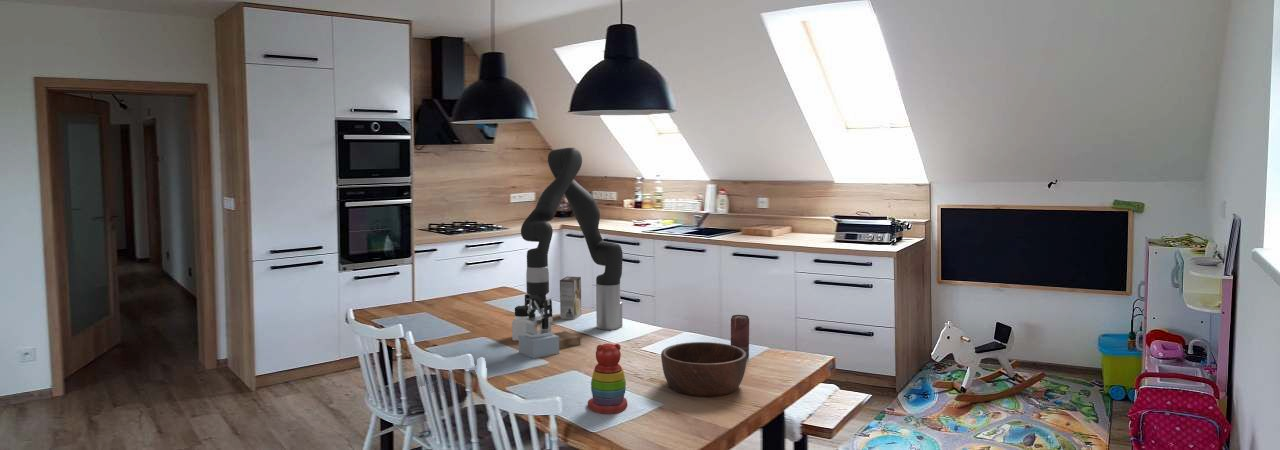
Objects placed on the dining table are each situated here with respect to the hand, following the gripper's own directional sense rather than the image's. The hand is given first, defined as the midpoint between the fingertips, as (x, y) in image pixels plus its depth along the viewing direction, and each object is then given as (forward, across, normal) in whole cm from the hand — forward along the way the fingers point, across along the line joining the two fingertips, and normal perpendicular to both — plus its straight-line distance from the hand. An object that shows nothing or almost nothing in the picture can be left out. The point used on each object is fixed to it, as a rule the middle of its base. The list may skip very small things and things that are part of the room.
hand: (538, 326), depth 266 cm
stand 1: (+9, 0, 0) cm, 9 cm away
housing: (+3, 0, 0) cm, 3 cm away
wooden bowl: (+10, -62, -19) cm, 66 cm away
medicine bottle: (+9, +21, -6) cm, 24 cm away
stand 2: (+9, +5, -12) cm, 16 cm away
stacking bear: (+9, -60, +14) cm, 62 cm away
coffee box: (+9, +40, -39) cm, 57 cm away
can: (+9, -47, -49) cm, 69 cm away
